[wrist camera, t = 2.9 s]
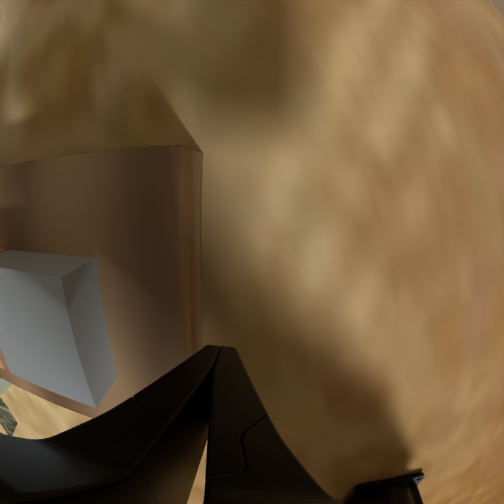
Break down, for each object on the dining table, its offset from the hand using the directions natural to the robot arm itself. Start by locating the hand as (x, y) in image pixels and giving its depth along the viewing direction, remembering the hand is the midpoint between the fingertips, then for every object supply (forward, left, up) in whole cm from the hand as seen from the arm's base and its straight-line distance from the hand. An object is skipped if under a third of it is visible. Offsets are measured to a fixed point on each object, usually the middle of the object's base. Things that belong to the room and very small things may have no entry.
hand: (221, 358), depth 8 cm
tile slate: (+7, 0, -1) cm, 7 cm away
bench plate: (+9, 0, -4) cm, 9 cm away
